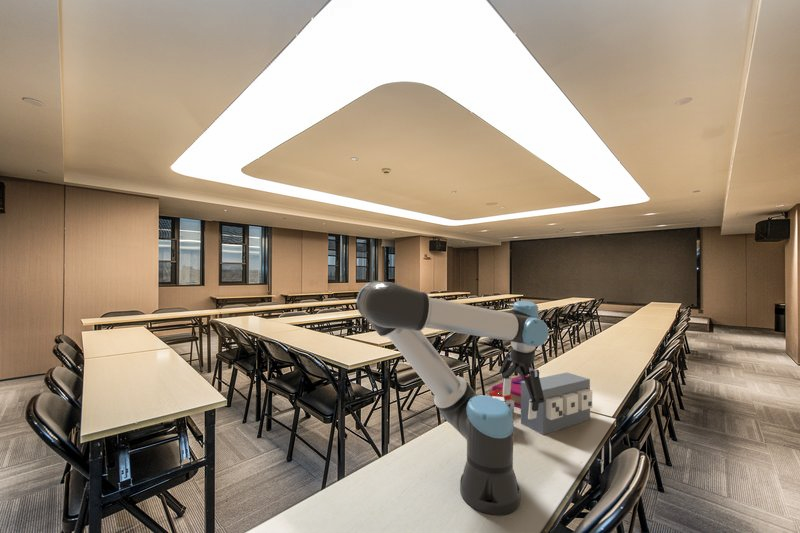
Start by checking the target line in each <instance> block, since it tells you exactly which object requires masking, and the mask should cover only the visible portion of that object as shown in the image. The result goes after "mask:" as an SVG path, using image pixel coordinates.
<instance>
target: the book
mask: <svg viewBox="0 0 800 533" xmlns="http://www.w3.org/2000/svg"><path fill="white" fill-rule="evenodd" d="M525 377H529V374H528V375H527V376H525ZM523 381H524V380H523V379H522V376H520V375H519V376H516V377H514V378H511V400H513V401H514V408H517V409H520V410H521V382H523ZM500 389H503V382H501V383H498V384H495V385H492V387H491V391H492V390H500ZM498 393H499V394H503V392H501V391H499V392H498ZM498 393H497V394H498Z"/></svg>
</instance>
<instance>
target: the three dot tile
mask: <svg viewBox="0 0 800 533" xmlns="http://www.w3.org/2000/svg"><path fill="white" fill-rule="evenodd" d="M560 417H563V398H560V397H558V396H554V397H550V398H546V418H547V419H550V420H553V419H557V418H560Z"/></svg>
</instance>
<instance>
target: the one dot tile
mask: <svg viewBox="0 0 800 533" xmlns="http://www.w3.org/2000/svg"><path fill="white" fill-rule="evenodd" d="M562 398H563V414H565V415H570V414H573V413H576V412H578V394H576V393H573V392H570V393H566V394H562Z"/></svg>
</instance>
